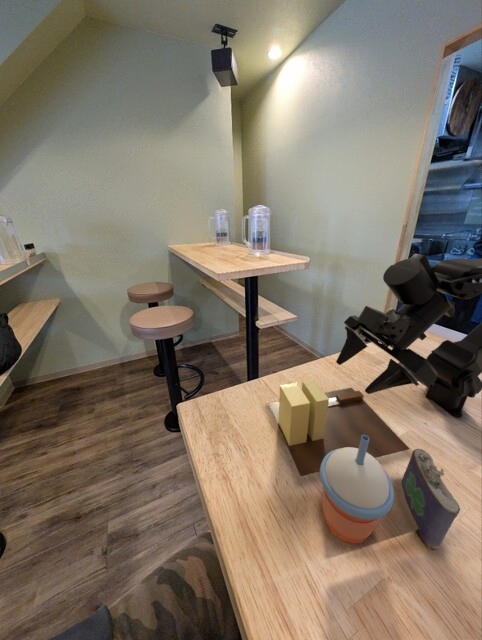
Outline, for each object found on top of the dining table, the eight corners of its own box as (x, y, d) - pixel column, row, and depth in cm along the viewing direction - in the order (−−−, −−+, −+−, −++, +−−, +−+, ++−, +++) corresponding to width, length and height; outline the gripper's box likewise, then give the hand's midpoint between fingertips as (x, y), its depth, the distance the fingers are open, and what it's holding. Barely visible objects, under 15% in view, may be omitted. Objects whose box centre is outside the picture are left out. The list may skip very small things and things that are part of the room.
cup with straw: (343, 576, 32) (368, 488, 25) (301, 506, 40) (310, 423, 33) (393, 540, 36) (428, 454, 28) (345, 482, 43) (363, 401, 36)
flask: (443, 552, 34) (470, 504, 30) (420, 548, 35) (443, 501, 30) (412, 484, 43) (429, 439, 38) (393, 482, 43) (408, 437, 39)
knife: (357, 393, 61) (358, 389, 60) (363, 400, 59) (364, 396, 58) (300, 405, 58) (300, 401, 58) (304, 411, 56) (304, 407, 56)
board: (350, 392, 64) (351, 387, 63) (408, 454, 48) (410, 448, 47) (268, 408, 60) (268, 403, 59) (300, 481, 44) (300, 476, 43)
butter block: (294, 419, 54) (296, 382, 50) (306, 442, 49) (310, 403, 45) (278, 422, 54) (279, 385, 50) (289, 446, 48) (291, 406, 44)
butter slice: (309, 415, 55) (313, 379, 51) (323, 438, 50) (329, 399, 46) (299, 418, 55) (302, 381, 50) (312, 441, 49) (316, 401, 45)
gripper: (358, 278, 51) (304, 333, 54) (444, 312, 34) (360, 389, 37) (384, 309, 56) (333, 358, 58) (471, 353, 39) (394, 419, 42)
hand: (350, 376), depth 49 cm, fingers open, 9 cm apart
